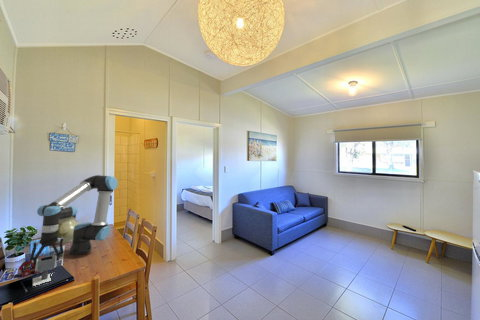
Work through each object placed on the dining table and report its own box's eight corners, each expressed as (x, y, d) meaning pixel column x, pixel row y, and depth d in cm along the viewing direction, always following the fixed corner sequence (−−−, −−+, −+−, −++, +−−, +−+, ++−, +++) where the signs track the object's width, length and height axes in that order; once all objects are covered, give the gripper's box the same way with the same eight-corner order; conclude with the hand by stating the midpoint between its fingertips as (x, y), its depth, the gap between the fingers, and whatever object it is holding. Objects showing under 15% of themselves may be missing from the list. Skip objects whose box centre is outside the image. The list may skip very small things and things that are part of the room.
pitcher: (52, 247, 165) (56, 218, 166) (43, 241, 176) (46, 213, 178) (83, 240, 184) (86, 214, 186) (73, 235, 196) (76, 210, 197)
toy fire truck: (17, 274, 125) (19, 258, 126) (44, 268, 134) (46, 252, 135) (17, 279, 121) (19, 262, 121) (45, 272, 130) (46, 256, 130)
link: (36, 267, 121) (38, 258, 121) (53, 264, 126) (54, 254, 127) (37, 272, 116) (38, 262, 116) (54, 268, 121) (55, 258, 122)
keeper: (32, 279, 121) (34, 263, 121) (54, 274, 128) (56, 259, 129) (32, 287, 114) (34, 270, 114) (56, 280, 121) (57, 264, 122)
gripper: (26, 236, 112) (21, 276, 111) (71, 229, 128) (67, 264, 126) (26, 232, 117) (21, 271, 116) (70, 226, 133) (66, 260, 131)
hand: (45, 267), depth 121 cm, fingers closed on link, 7 cm apart
